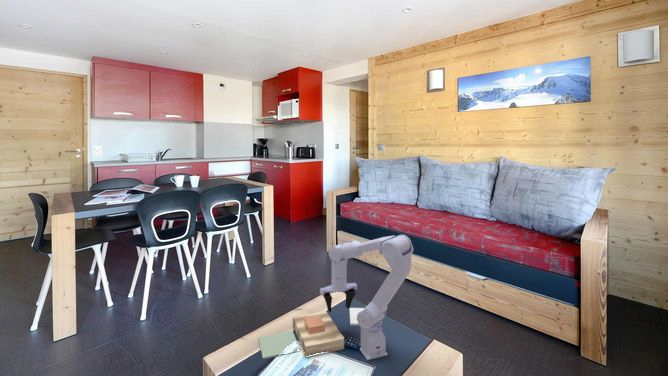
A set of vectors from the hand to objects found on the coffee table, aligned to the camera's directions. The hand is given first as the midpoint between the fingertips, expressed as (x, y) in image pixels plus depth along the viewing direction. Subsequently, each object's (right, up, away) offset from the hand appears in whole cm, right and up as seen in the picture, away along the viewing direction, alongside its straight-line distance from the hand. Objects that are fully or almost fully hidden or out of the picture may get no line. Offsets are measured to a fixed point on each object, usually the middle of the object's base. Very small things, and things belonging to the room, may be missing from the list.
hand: (338, 309), depth 120 cm
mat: (-22, -10, -7) cm, 25 cm away
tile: (-9, -5, -3) cm, 11 cm away
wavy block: (-8, -10, -2) cm, 13 cm away
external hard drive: (+9, -9, +12) cm, 17 cm away
